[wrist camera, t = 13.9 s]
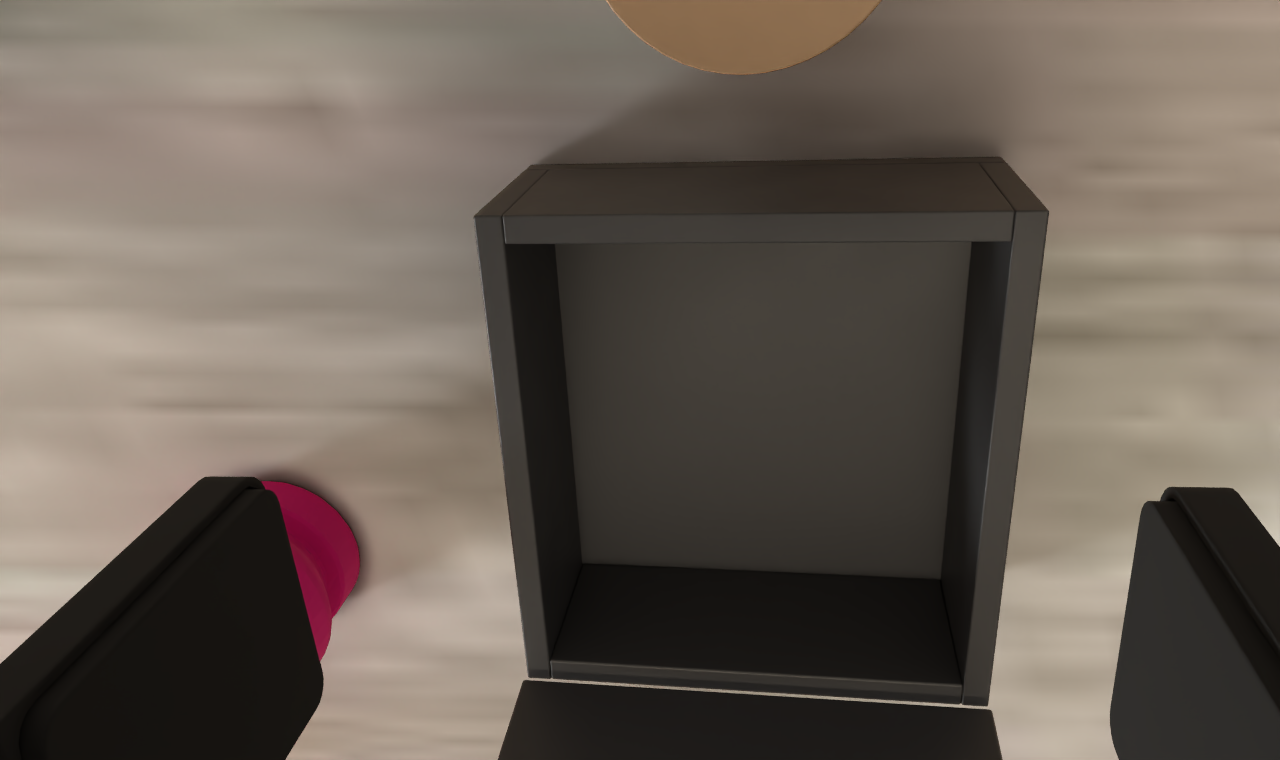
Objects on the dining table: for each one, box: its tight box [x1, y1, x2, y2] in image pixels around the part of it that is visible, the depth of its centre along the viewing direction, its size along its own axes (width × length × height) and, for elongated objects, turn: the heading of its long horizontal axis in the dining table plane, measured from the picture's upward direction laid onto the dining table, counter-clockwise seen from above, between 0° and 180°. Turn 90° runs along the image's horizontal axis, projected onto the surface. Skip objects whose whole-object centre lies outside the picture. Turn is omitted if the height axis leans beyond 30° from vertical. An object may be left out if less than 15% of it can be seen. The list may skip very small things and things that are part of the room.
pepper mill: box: [261, 481, 360, 661], centre depth 31 cm, size 7×7×20 cm
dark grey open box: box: [474, 157, 1049, 706], centre depth 31 cm, size 16×15×6 cm
